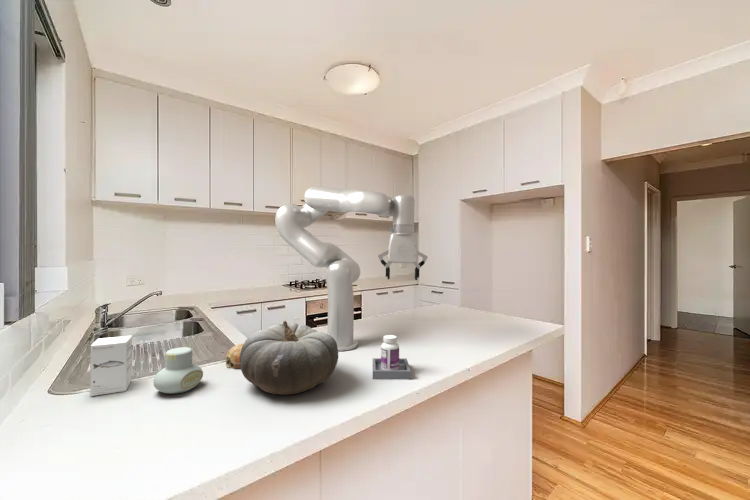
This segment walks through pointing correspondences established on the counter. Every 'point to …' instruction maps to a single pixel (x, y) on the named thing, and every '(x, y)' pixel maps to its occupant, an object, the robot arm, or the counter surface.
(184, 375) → the air freshener
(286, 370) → the gourd
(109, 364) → the supplement box
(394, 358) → the pill bottle
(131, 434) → the counter surface
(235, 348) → the bread roll
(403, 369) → the tray
